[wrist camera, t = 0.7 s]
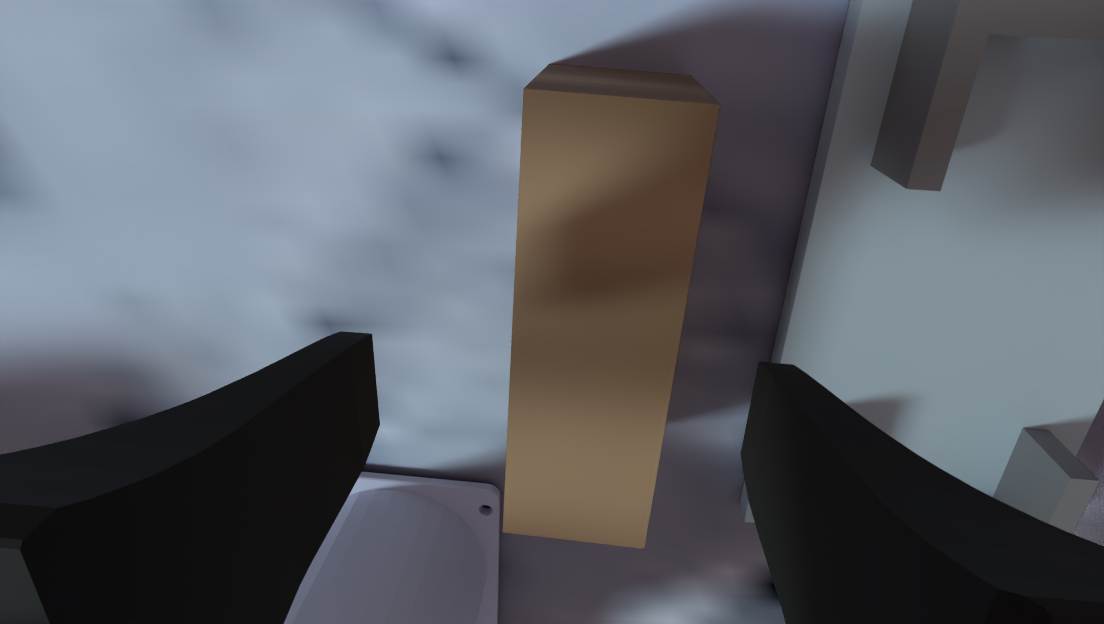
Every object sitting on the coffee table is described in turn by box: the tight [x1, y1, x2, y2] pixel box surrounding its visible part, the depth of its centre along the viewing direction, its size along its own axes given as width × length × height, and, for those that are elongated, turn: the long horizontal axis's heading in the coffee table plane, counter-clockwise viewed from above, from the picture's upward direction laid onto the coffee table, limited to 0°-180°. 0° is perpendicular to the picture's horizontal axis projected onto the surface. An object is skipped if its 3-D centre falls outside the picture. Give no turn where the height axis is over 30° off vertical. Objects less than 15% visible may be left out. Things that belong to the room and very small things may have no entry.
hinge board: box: [740, 0, 1104, 534], centre depth 19 cm, size 18×10×4 cm, turn 177°
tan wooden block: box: [503, 64, 720, 549], centre depth 19 cm, size 12×4×6 cm, turn 176°
